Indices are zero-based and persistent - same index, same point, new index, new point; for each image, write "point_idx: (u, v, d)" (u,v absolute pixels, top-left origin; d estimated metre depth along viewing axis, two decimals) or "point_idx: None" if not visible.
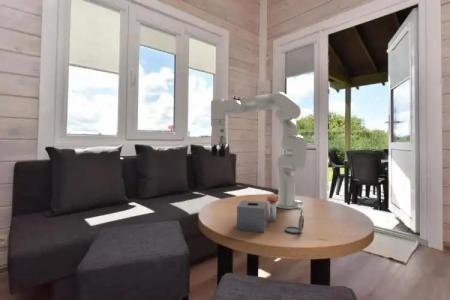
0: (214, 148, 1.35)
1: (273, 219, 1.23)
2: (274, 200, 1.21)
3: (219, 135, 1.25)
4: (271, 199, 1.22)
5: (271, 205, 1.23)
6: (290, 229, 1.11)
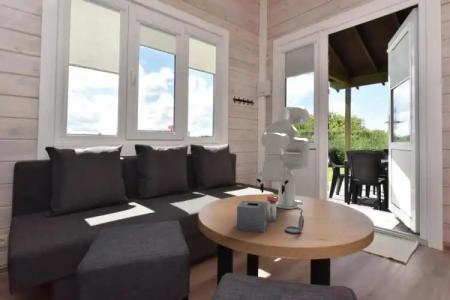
0: (263, 184, 1.24)
1: (273, 219, 1.23)
2: (274, 200, 1.21)
3: (282, 171, 1.21)
4: (271, 199, 1.22)
5: (271, 205, 1.23)
6: (290, 229, 1.11)
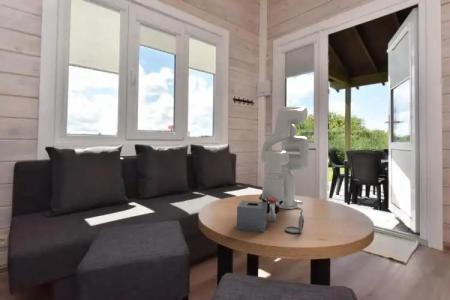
0: None
1: (273, 219, 1.23)
2: (274, 200, 1.21)
3: (282, 190, 1.21)
4: (271, 199, 1.22)
5: (271, 205, 1.23)
6: (290, 229, 1.11)
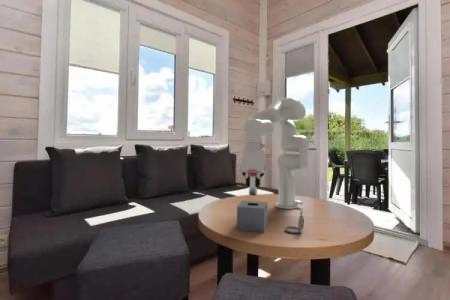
0: None
1: (253, 193, 1.13)
2: (254, 172, 1.11)
3: (263, 161, 1.11)
4: (251, 171, 1.11)
5: (251, 178, 1.13)
6: (290, 229, 1.11)
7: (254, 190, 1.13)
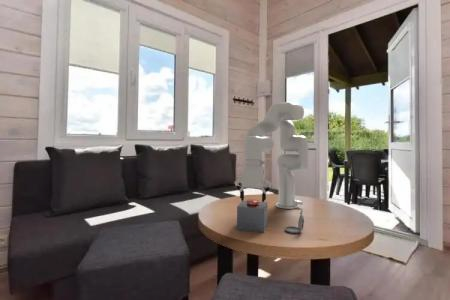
0: (243, 191, 1.16)
1: None
2: (254, 204, 1.12)
3: (263, 178, 1.12)
4: (251, 203, 1.12)
5: None
6: (290, 229, 1.11)
7: None
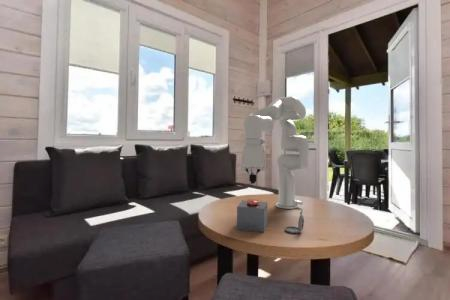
0: None
1: None
2: (254, 204, 1.12)
3: (263, 157, 1.11)
4: (251, 203, 1.12)
5: None
6: (290, 229, 1.11)
7: None
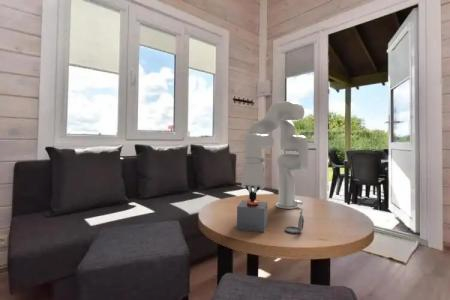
0: None
1: None
2: (254, 204, 1.12)
3: (263, 175, 1.12)
4: (251, 203, 1.12)
5: None
6: (290, 229, 1.11)
7: None
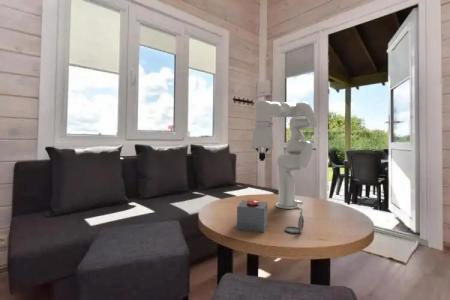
0: None
1: None
2: (254, 204, 1.12)
3: (271, 137, 1.27)
4: (251, 203, 1.12)
5: None
6: (290, 229, 1.11)
7: None
